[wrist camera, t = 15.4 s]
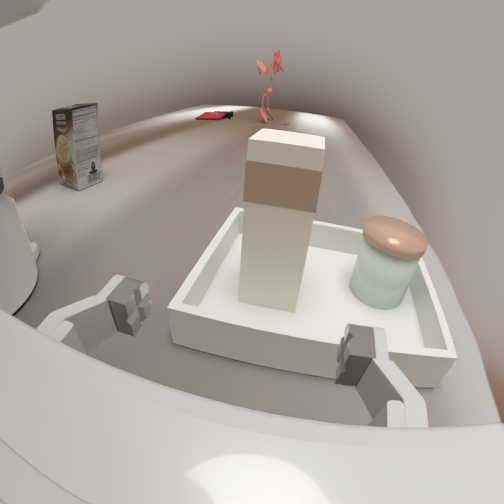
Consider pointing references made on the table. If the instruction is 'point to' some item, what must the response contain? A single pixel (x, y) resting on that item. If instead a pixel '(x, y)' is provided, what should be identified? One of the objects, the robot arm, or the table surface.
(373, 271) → the lidded jar
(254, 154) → the juice carton
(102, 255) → the table surface
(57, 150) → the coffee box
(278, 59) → the figurine
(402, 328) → the tray
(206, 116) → the red board with handle
